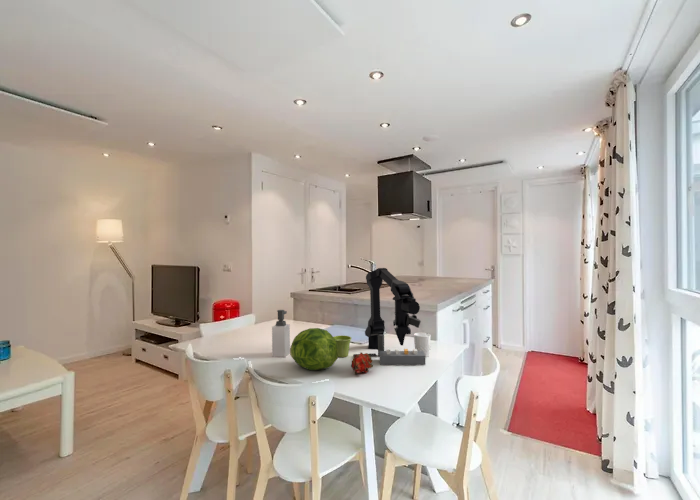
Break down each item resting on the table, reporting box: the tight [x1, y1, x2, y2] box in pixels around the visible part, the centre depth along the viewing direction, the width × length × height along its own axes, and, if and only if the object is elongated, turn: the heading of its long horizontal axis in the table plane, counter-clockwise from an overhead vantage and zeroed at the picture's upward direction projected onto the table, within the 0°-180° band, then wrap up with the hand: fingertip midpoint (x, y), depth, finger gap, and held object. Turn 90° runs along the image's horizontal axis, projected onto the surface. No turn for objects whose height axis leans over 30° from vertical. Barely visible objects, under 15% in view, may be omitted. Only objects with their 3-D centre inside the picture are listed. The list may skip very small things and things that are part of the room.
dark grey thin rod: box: [352, 352, 377, 358], centre depth 159 cm, size 11×1×1 cm, turn 95°
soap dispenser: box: [271, 309, 291, 358], centre depth 165 cm, size 6×9×22 cm
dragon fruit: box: [350, 352, 374, 375], centre depth 139 cm, size 8×8×12 cm
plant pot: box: [333, 334, 352, 358], centre depth 161 cm, size 9×9×9 cm
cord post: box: [377, 334, 385, 358], centre depth 160 cm, size 3×3×10 cm
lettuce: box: [289, 327, 339, 371], centre depth 145 cm, size 18×23×19 cm
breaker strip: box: [379, 348, 426, 366], centre depth 151 cm, size 20×7×6 cm, turn 87°
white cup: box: [413, 332, 431, 358], centre depth 160 cm, size 8×8×10 cm
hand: (401, 345), depth 151 cm, fingers closed
